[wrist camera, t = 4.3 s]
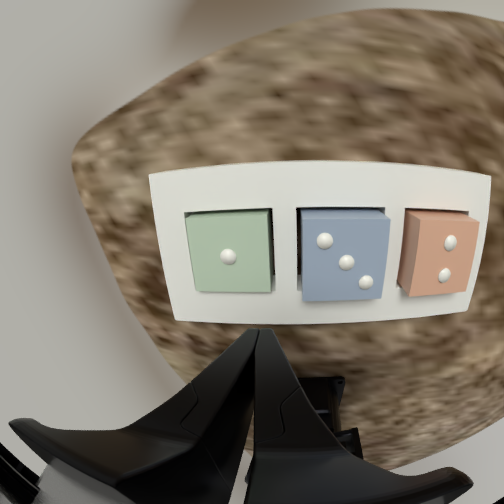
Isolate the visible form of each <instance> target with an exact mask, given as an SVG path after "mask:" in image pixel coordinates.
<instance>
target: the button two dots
mask: <svg viewBox="0 0 504 504" xmlns="http://www.w3.org/2000/svg"><path fill="white" fill-rule="evenodd" d="M479 224H480V222H479V221H477V220H475V219H473V218H471V217H469V216H467V215H465V214H463V213H461V212H458V211H449V210H429V209H405V214H404V226H403V237H402V246H401V254H400V262H399V269H398V275H397V281H398V282H399V283H400V285H401V286H402V288H403V289H404V291H405V292H406V293H407V295H408V296H409V297H412V296H424V295H436V294H446V293H456V292H465V291H466V288H467V285H468V281H469V277H470V273H471V268H472V264H473V259H474V254H475V249H476V243H477V237H478V231H479Z"/></svg>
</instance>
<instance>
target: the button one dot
mask: <svg viewBox="0 0 504 504" xmlns="http://www.w3.org/2000/svg"><path fill="white" fill-rule="evenodd" d="M185 221H186V228H187V235H188V242H189V249H190V256H191V262H192V268H193V274H194V280H195V286H196V291H209V292H271V286H272V279H273V251H272V229H271V209H270V208H254V209H231V210H212V211H196V212H195V213H193V214H192V215H190V216H189V217H187V218H186V219H185Z"/></svg>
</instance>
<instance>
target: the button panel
mask: <svg viewBox="0 0 504 504" xmlns="http://www.w3.org/2000/svg"><path fill="white" fill-rule="evenodd" d="M149 181H150V189H151V197H152V204H153V211H154V218H155V224H156V230H157V236H158V242H159V248H160V253H161V258H162V263H163V268H164V273H165V278H166V283H167V287H168V292H169V296H170V301H171V305H172V309H173V313H174V317H175V320H181V321H196V322H214V323H238V324H326V323H350V322H368V321H382V320H394V319H405V318H415V317H425V316H433V315H441V314H449V313H456V312H463V311H467V309H468V306H469V303H470V299H471V296H472V292H473V289H474V285H475V282H476V278H477V274H478V269H479V265H480V261H481V256H482V251H483V246H484V240H485V234H486V227H487V220H488V212H489V202H490V188H491V176H488V175H484V174H480V173H475V172H470V171H464V170H457V169H450V168H442V167H434V166H425V165H415V164H403V163H390V162H372V161H344V160H297V161H268V162H250V163H236V164H223V165H213V166H203V167H194V168H185V169H177V170H170V171H163V172H159V173H154V174H149ZM296 207H373V208H376V209H377V210H379V211H380V212H381V213H383V214H384V215H386V216H387V217H388V218H390V219H391V221H390V234H389V245H388V254H387V262H386V270H385V277H384V284H383V291H382V297H381V299H362V300H337V301H302V287H301V275H297V225H296ZM254 208H272V209H273V230H274V253H275V275H273V279H272V286H271V292H209V291H196V286H195V280H194V274H193V268H192V262H191V256H190V249H189V242H188V235H187V228H186V221H185V219H186V218H187V217H189V216H190V215H192V214H193V213H195V212H196V211H212V210H231V209H254ZM405 208H425V209H445V210H451V211H458V212H461V213H463V214H465V215H467V216H469V217H471V218H473V219H475V220H477V221H479V222H480V224H479V231H478V237H477V243H476V249H475V254H474V259H473V264H472V268H471V273H470V277H469V281H468V285H467V288H466V291H465V292H456V293H446V294H436V295H424V296H412V297H409V296H408V295H407V293H406V292H405V291H404V289H403V288H402V286H401V285H400V283H399V282H398V281H397V275H398V269H399V262H400V254H401V246H402V237H403V226H404V214H405Z"/></svg>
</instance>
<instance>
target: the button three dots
mask: <svg viewBox="0 0 504 504" xmlns="http://www.w3.org/2000/svg"><path fill="white" fill-rule="evenodd" d="M300 213H301V287H302V301H337V300H362V299H381V297H382V291H383V284H384V277H385V270H386V262H387V254H388V245H389V234H390V221H391V219H390V218H388V217H387V216H386V215H384V214H383V213H381V212H380V211H379V210H377V209H376V208H300Z"/></svg>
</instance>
